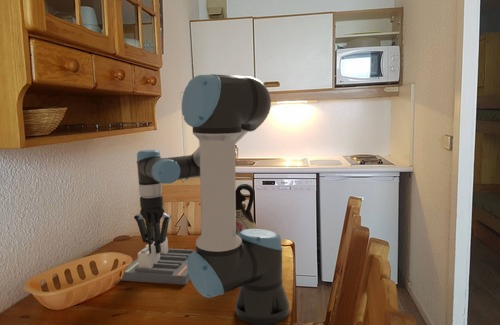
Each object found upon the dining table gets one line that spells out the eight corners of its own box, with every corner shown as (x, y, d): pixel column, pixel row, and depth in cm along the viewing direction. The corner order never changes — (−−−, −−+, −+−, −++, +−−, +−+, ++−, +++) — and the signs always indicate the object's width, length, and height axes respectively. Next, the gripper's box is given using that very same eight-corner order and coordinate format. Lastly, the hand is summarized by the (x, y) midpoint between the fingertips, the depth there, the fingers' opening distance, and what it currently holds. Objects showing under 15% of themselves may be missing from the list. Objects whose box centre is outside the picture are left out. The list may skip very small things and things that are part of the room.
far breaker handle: (164, 254, 140) (163, 237, 140) (155, 254, 141) (154, 237, 140) (168, 251, 143) (167, 234, 142) (158, 251, 144) (157, 234, 143)
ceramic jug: (215, 266, 136) (211, 187, 132) (227, 251, 150) (224, 179, 147) (260, 269, 131) (257, 187, 128) (268, 253, 146) (266, 179, 142)
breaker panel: (185, 284, 122) (185, 273, 121) (120, 280, 127) (119, 269, 126) (207, 259, 143) (206, 249, 142) (150, 256, 148) (150, 246, 148)
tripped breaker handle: (149, 270, 127) (148, 251, 126) (138, 269, 128) (137, 250, 127) (153, 266, 130) (152, 247, 129) (143, 265, 130) (141, 247, 130)
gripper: (173, 193, 127) (177, 258, 130) (139, 192, 130) (144, 256, 133) (164, 198, 119) (168, 267, 123) (127, 197, 122) (133, 265, 125)
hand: (155, 261), depth 128 cm, fingers closed
